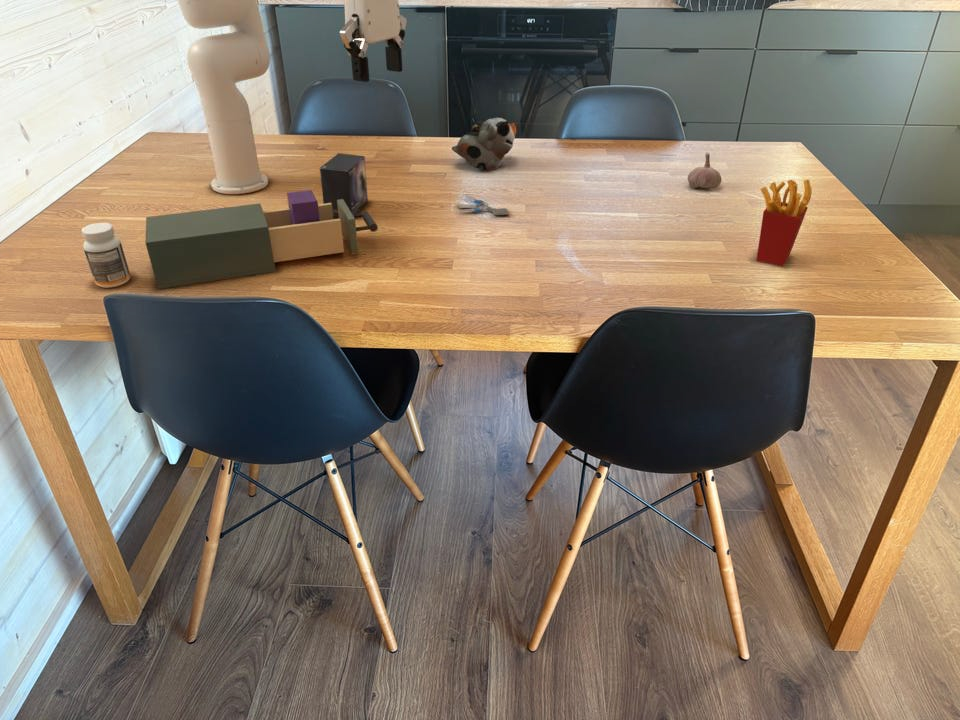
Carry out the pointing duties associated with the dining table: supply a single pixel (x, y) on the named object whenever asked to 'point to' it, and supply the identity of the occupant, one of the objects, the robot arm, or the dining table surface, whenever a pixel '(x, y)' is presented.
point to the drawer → (315, 232)
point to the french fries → (781, 222)
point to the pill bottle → (105, 255)
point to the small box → (344, 182)
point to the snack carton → (303, 207)
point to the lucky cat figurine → (487, 143)
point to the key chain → (495, 211)
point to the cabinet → (209, 245)
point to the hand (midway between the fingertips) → (378, 75)
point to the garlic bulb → (704, 176)
